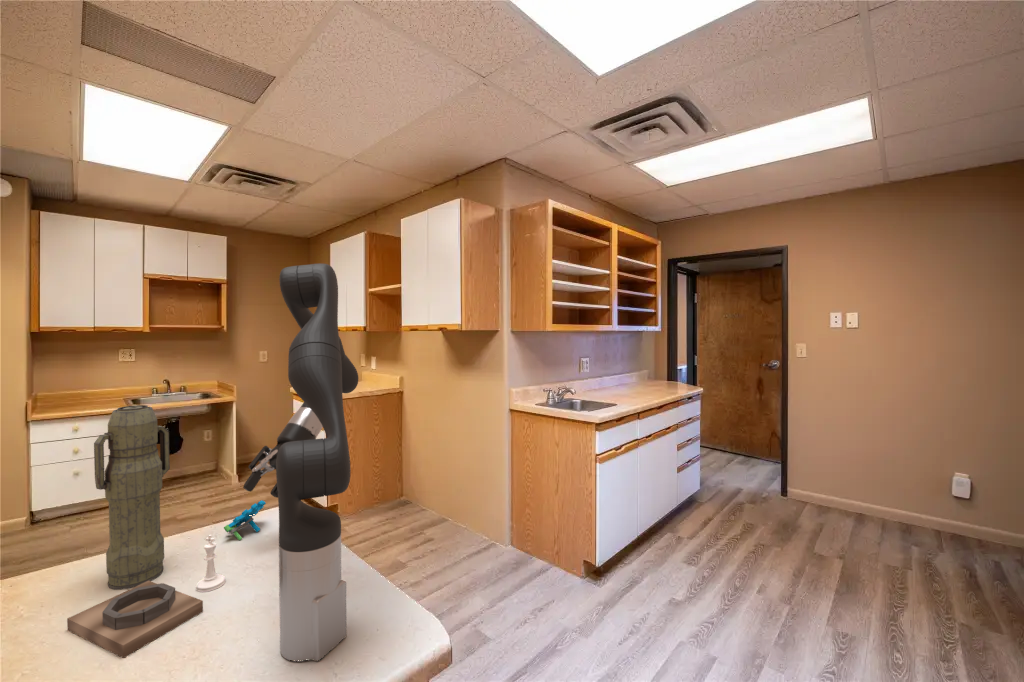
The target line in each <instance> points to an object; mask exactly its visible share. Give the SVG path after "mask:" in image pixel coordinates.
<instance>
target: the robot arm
mask: <svg viewBox="0 0 1024 682" xmlns="http://www.w3.org/2000/svg"><path fill="white" fill-rule="evenodd" d="M278 278H279V279H278V280H279V288H280V292H281V296H282V298H283V300H284V303H285V304H286V306H287V308H288V310H289V312H290V314H291V315H292V317H293V318H294V320H295V322H296V323H297V325H298V327H299V328H300V330H299V332H298V333H297V334H296V336H295V337H294V338H293V340H292V342H291V344H290V346H289V348H288V359H287V360H288V361H287V362H288V363H287V365H288V368H287V376H288V381H289V383H290V386H291V388H292V389H293V390H294V392H295V393H296V395H298V397H299V398H300V399H301V400H302V401H303V403H302V404H301V406H300V407H299V409H298V410H296V412H295V413H294V414H293V415H292V417H290V419H289V421H288V422H287V424H286V425H285V427H284V428H283V429H282V431H281V432H280V434H279V435H278V436H277V438H276V442H277V443H276V446H275V447H273V448H270V447H269V446H268V445H264V446H263V447H262V448H261V449H260V450H259V452H258V453H257V455H256V456H254V459H253V460H251V462H250V463H249V465H248V468H249V470H251V474H250V475H249V477H248V478H247V479H246V480H245V482H244V485H243V487H242V488H243V489H244V490H246V491H247V492H250V493H252V492H253V490H254V489H255V487H256V486H257V484H258V483H259V482H260V480H261V479H262V477H263V476H264V475H265V474H267V473H269V472H273V471H274V470H275V476H276V483H275V484H274V486H273V487H272V489H271V491H270V495H271V496H272V497H274V498H277V501H278V564H279V565H278V577H279V578H278V586H279V588H278V591H279V592H278V596H279V600H278V601H279V602H278V603H279V652H280V655H281V656H282V657H283V658H284V659H285V660H287V661H290V660H295V661H294V662H296V661H297V662H303V661H302V660H306V659H314V660H313V661H315V660H317V661H316V662H319V661H320V660H319V659H321V658H322V659H323V658H324V657H325V656H327V654H328V653H330V652H329V651H330V650H331V649H332V648H333V649H334V648H336V646H338V645H339V644H340V643H341V642H342V641H343V640H344V639H345V638H346V637H347V636H346V635H347V581H346V580H344V579H342V519H341V517H340V516H339V514H338V513H336V512H334V511H331V510H330V509H325V508H319V507H315V506H312V505H309V504H307V503H305V502H303V501H302V500H309V499H315V498H316V499H317V498H321V497H324V496H325V497H327V496H334V495H338V494H339V495H340V494H342V493H344V492H345V491H347V489H348V487H349V485H350V482H351V473H352V472H351V457H350V449H349V448H350V447H349V442H348V435H347V427H346V420H345V411H344V399H343V396H344V395H343V394H350V393H352V392H353V391H355V389H356V388H357V386H358V384H359V373H358V371H357V368H356V367H355V365H354V363H353V362H352V361H351V360H350V358H349V357H348V356H347V354H346V353H345V349H344V345H343V343H342V342H343V341H342V339H341V337H340V335H339V323H338V322H339V319H338V317H339V315H338V313H339V285H338V278H337V274H336V271H335V270H334V268H333V267H332V266H331V265H330V264H328V263H310V264H301V265H300V264H299V265H291V266H287V267H284V268H282V269H281V271H280V273H279V277H278ZM311 308H316V309H315V311H314V313H313V312H312V311H311V310H310V309H311ZM322 429H323V430H324V433H325V436H326V437H324V438H317V437H318V436H319V434H320V433H321V432H322ZM345 636H346V637H345ZM344 637H345V638H344ZM343 638H344V639H343ZM342 639H343V640H342ZM341 640H342V641H341ZM340 641H341V642H340ZM339 642H340V643H339ZM333 649H332V650H333ZM332 650H331V651H332ZM324 655H325V656H324ZM323 656H324V657H323ZM322 659H321V660H322ZM298 660H299V661H298ZM300 660H301V661H300ZM318 660H319V661H318Z"/></svg>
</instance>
